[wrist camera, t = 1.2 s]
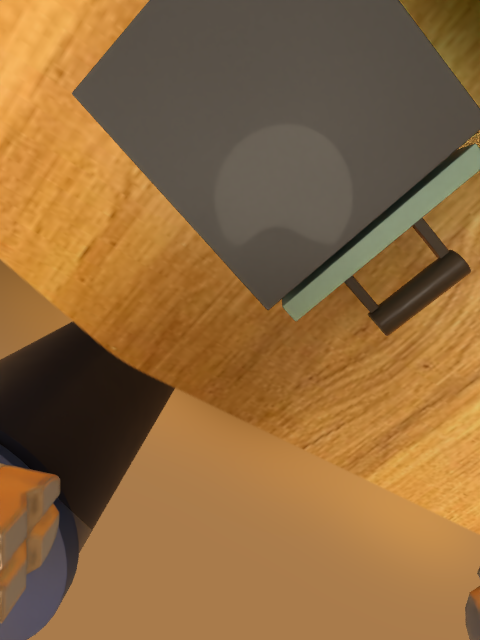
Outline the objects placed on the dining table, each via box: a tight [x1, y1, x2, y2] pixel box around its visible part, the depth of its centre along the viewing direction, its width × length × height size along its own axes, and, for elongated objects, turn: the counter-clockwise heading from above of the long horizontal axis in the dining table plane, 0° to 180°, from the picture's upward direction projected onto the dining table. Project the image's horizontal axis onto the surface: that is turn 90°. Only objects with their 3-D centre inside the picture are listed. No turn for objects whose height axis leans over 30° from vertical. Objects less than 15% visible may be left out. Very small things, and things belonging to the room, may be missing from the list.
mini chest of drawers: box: [72, 0, 480, 310], centre depth 25 cm, size 15×14×10 cm
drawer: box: [282, 144, 480, 336], centre depth 25 cm, size 18×13×8 cm
